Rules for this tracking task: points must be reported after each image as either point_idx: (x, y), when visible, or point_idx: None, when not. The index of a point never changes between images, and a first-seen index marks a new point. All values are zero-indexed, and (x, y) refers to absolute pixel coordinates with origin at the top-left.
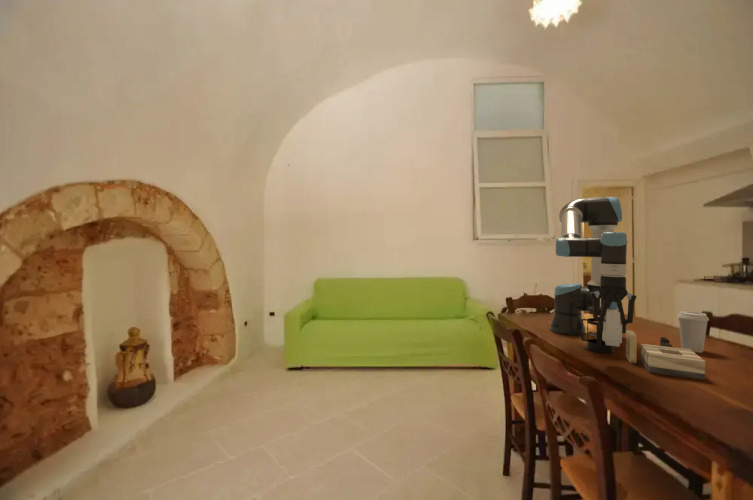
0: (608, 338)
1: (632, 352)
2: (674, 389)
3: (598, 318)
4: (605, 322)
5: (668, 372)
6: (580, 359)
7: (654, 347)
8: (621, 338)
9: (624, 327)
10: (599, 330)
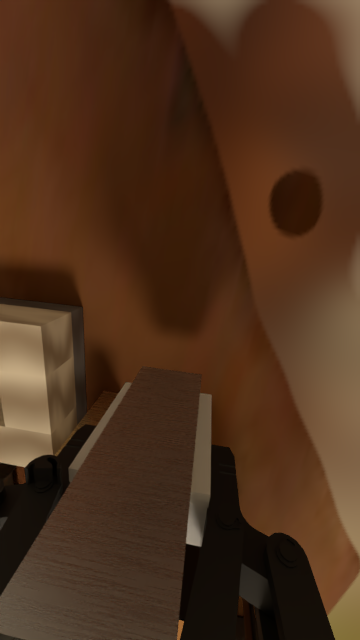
0: (186, 393)
1: (98, 415)
2: (35, 143)
3: (255, 558)
4: (189, 512)
5: (27, 303)
6: (283, 371)
7: (15, 436)
8: (118, 397)
9: (66, 456)
10: (187, 559)
